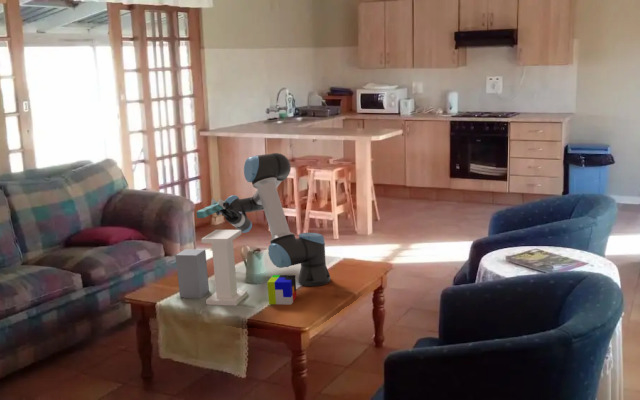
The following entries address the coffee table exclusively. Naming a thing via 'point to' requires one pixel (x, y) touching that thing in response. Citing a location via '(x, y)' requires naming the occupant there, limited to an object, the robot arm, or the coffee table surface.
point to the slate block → (192, 273)
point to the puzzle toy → (281, 289)
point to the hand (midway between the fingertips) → (215, 201)
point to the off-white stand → (224, 268)
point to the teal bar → (209, 210)
